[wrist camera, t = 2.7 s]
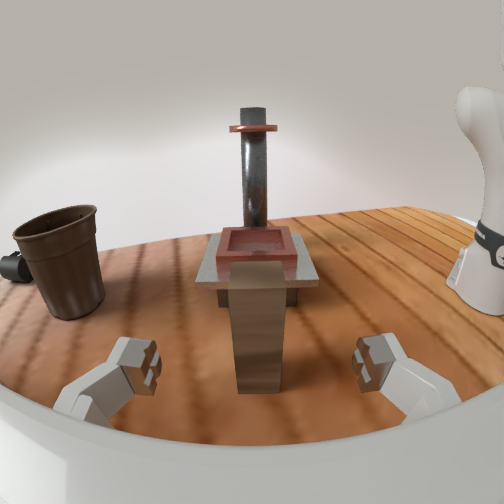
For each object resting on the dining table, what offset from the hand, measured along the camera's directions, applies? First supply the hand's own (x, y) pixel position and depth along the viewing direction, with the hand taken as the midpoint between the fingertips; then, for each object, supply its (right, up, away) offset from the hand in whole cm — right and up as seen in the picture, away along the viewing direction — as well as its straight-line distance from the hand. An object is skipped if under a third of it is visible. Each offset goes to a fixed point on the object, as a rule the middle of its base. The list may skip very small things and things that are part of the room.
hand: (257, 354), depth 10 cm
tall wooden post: (+1, -10, +19) cm, 21 cm away
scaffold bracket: (+1, 0, +41) cm, 41 cm away
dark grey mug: (-57, -3, +38) cm, 69 cm away
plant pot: (-32, -5, +32) cm, 46 cm away
